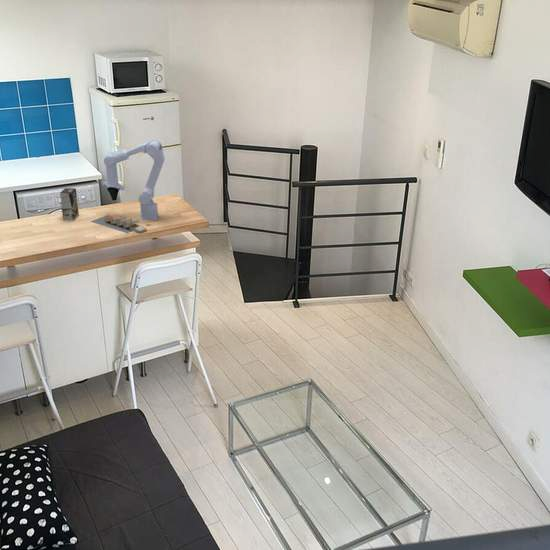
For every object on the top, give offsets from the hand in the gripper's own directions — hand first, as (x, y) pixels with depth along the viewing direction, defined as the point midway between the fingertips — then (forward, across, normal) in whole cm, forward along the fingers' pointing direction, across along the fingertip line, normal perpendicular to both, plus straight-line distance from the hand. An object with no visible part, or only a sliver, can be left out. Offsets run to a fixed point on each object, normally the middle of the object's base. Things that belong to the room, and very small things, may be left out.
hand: (114, 200), depth 346 cm
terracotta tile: (+8, +2, -8) cm, 12 cm away
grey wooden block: (+8, +12, -9) cm, 17 cm away
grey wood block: (+8, +7, -9) cm, 14 cm away
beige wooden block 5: (+8, +21, -9) cm, 24 cm away
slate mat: (+10, +9, -9) cm, 16 cm away
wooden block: (+8, +17, -9) cm, 21 cm away
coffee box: (+10, -18, -16) cm, 26 cm away
